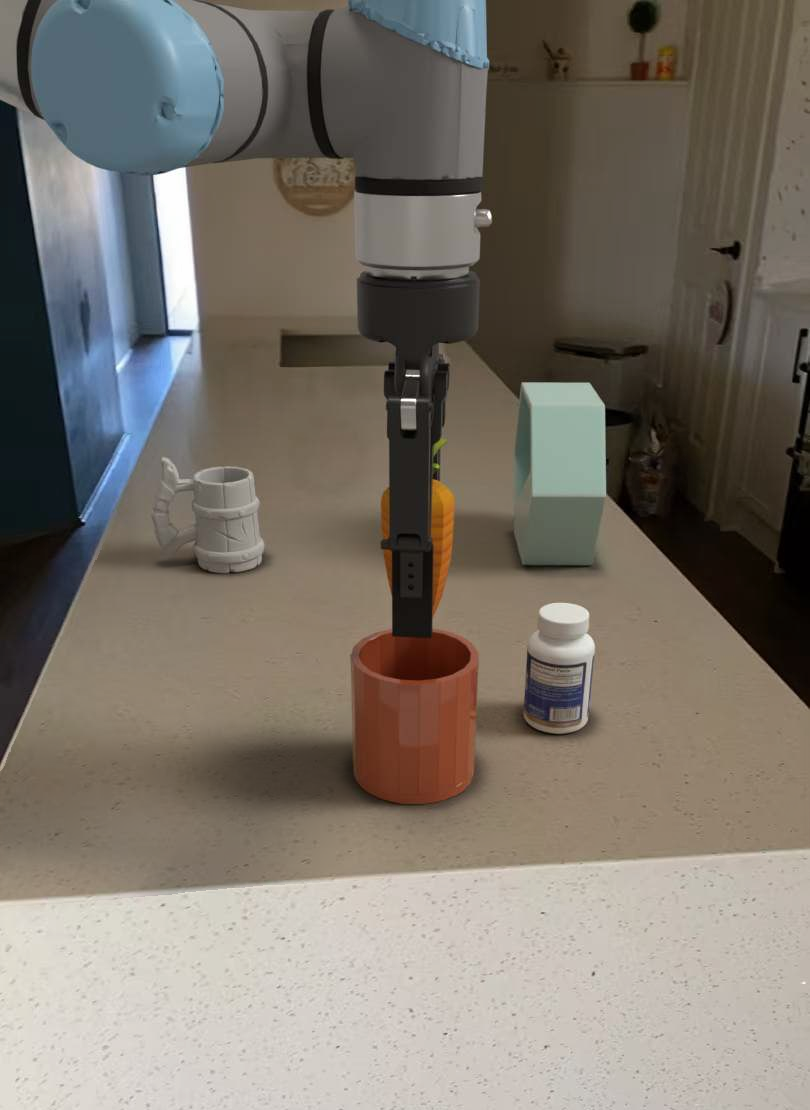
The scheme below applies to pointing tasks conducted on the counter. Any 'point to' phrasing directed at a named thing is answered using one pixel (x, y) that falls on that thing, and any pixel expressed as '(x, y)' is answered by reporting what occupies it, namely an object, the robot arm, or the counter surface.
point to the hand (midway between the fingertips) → (415, 617)
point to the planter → (559, 473)
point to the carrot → (439, 532)
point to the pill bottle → (559, 670)
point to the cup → (414, 715)
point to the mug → (212, 517)
